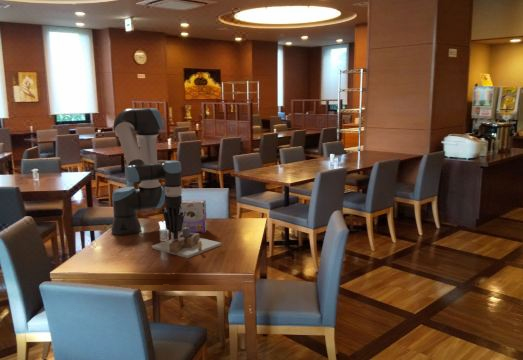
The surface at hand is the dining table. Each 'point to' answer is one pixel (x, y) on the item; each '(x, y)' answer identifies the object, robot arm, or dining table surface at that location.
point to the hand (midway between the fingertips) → (174, 245)
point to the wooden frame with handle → (184, 242)
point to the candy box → (194, 215)
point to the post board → (188, 251)
